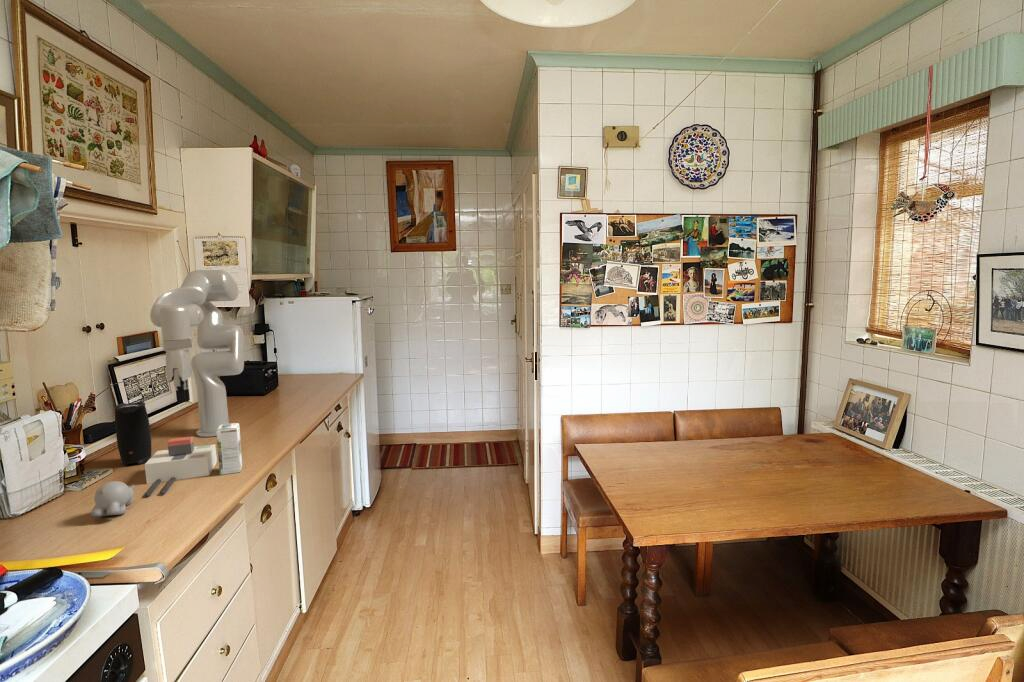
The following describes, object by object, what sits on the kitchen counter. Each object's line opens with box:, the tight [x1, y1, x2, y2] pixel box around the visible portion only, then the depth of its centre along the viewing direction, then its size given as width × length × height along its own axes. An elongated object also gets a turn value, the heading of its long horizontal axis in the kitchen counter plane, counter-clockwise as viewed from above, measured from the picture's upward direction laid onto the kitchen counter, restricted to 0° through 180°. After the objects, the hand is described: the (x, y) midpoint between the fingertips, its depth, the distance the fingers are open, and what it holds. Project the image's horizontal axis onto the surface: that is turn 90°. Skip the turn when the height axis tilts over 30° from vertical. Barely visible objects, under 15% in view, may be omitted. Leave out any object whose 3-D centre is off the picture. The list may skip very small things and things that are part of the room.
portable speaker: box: [114, 401, 152, 467], centre depth 163 cm, size 9×9×20 cm
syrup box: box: [216, 422, 243, 476], centre depth 155 cm, size 6×6×14 cm
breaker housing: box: [144, 443, 218, 485], centre depth 155 cm, size 12×16×6 cm
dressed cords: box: [144, 477, 176, 498], centre depth 143 cm, size 11×5×1 cm, turn 20°
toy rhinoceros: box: [90, 480, 135, 518], centre depth 130 cm, size 7×12×8 cm, turn 6°
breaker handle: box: [167, 436, 195, 456], centre depth 154 cm, size 3×6×4 cm, turn 110°
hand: (183, 401), depth 160 cm, fingers closed
